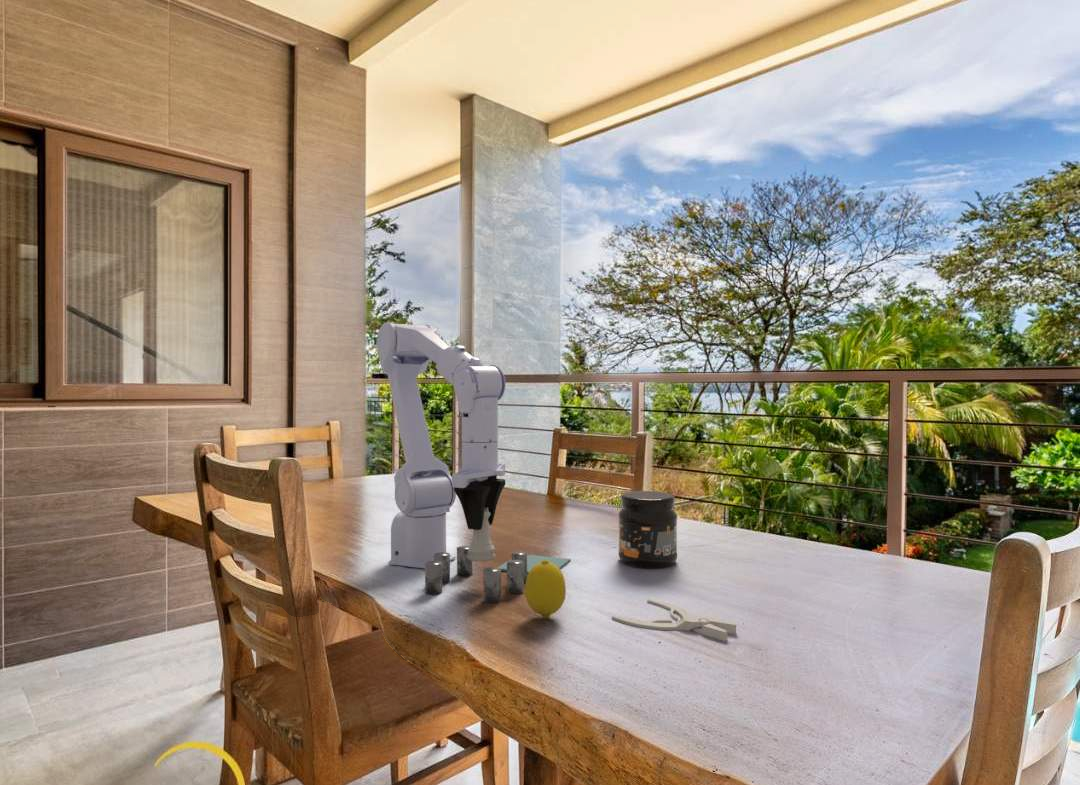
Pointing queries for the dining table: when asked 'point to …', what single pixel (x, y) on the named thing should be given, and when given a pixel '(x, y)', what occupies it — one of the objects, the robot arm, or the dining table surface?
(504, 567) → the mat
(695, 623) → the pliers
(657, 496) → the supplement container
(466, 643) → the dining table surface
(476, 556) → the rook chess piece
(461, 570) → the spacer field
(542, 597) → the lemon
